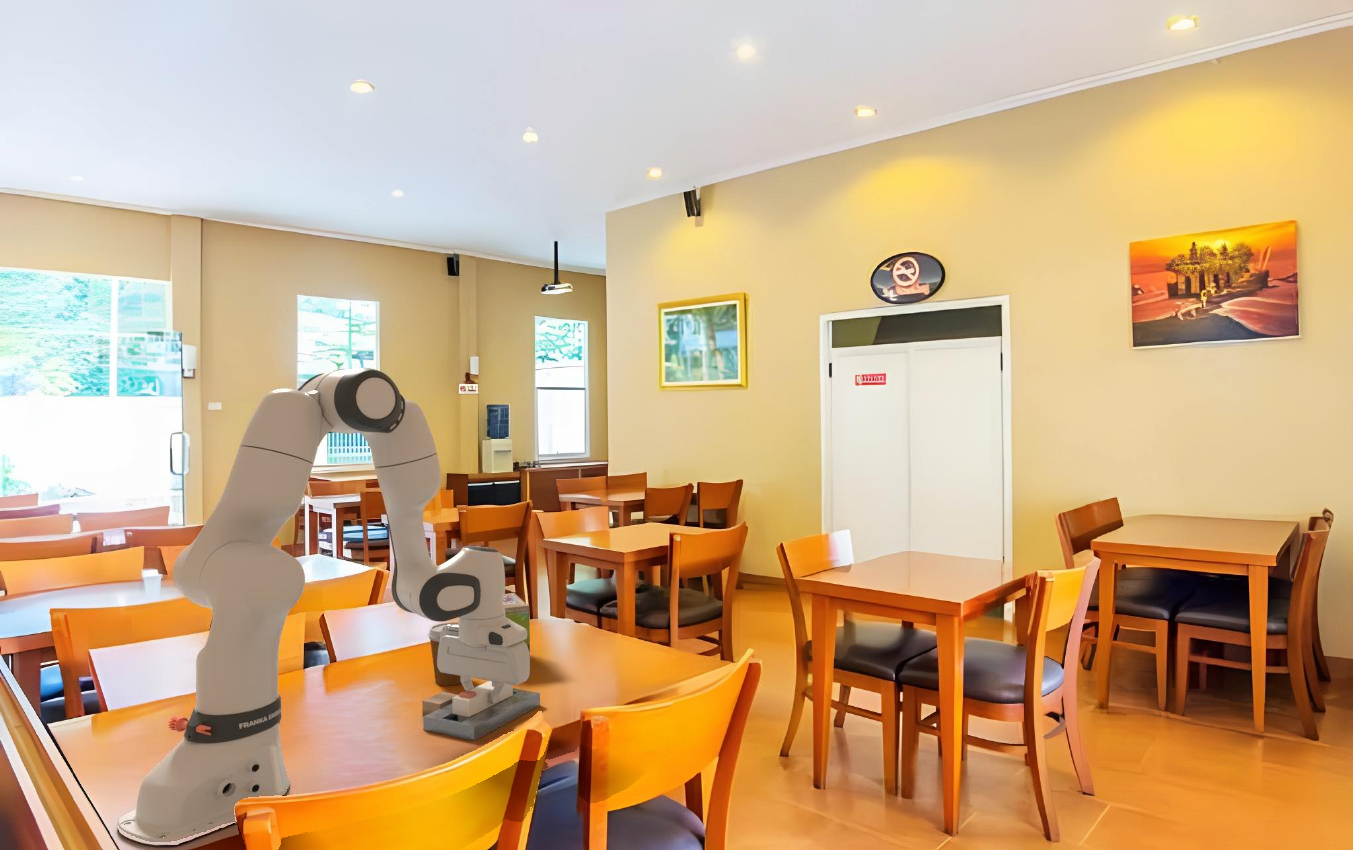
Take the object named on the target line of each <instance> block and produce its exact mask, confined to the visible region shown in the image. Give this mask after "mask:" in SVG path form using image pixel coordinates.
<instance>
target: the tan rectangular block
mask: <svg viewBox="0 0 1353 850" xmlns="http://www.w3.org/2000/svg"><path fill="white" fill-rule="evenodd" d="M457 695H458V694H454V693H451V692H450V693H449V692H445V691H441V692H439V693H436V694H435V695H433V696H430V697H428V698H425V699H424V700H421V701H422V709H421V710H422V711H421V713H422V717H423V716H425V715H428V714H430V713H432V712H434V711H436V710H438V709H441V708H443V707H445V706H447V705H449V704H451V703H452V698H453V697H455V696H457Z"/></svg>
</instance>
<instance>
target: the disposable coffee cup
mask: <svg viewBox="0 0 1353 850" xmlns="http://www.w3.org/2000/svg"><path fill="white" fill-rule="evenodd" d="M446 625H453V626H459V621H453V622H452V621H450V622H448V621H447V622H441V623H437V624H435V625H432V626H430V627H429V631H428V633H427V636H428V638H429V641H430V648H431V655H432V656H431V657H432V664H433V672H434V680H435V684H437V685H439V686H455V685H460V684H462V683H461V681H460V675H454V674H448V673H442V672H440V671H439V669H438V667H437V656H438V648H439V642H440V631H441V630H442V628H443V627H445V626H446Z"/></svg>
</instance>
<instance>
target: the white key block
mask: <svg viewBox="0 0 1353 850" xmlns="http://www.w3.org/2000/svg"><path fill="white" fill-rule="evenodd" d="M513 688H514V685H511V684H505V683H504V686H503V688H502V690H501V692H500V693H499V702H498V703H496V704H492V703H488V694H489V693H491V692H492V691H493V689H494V687H493V686H492V681H488V680H487V681H485V682H484V683H482V684H479V685H477V686H476V687H475V686H474V688H473V689H471V690H466V691H465V690H464V691H462V692H459V694H456V695H457V696H455V697H453V698H452V714H457V715H458V722H462V721H464V720H466V719H469V718H471V717H473V716H475V714H476V713H478V712H480V711H482V710H484V709H486V708H488V707H490V706H495V705H497V704H499V703H501V702H503V701H505V699H506V698H508V697H510V696H512V695H513Z"/></svg>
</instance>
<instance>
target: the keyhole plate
mask: <svg viewBox="0 0 1353 850" xmlns="http://www.w3.org/2000/svg"><path fill="white" fill-rule="evenodd" d="M538 705H540V706H541V693H540V692H538V691H537V692H536V691H532V690H531V691H530V690H525V689H519V688H514V687H513V695H512V696H510V697H508V698H506V699H505V701H503V702H501V703H499V704H497V705H495V706H490V707H488V708H486V709H484V710H482V711H480V712H478V713H476V714H475V716H473V717H471V718H469V719H466V720H464V721H462V722H458V715H457V714H452V703H451V704H449V705H447V706H445V707H443V708H441V709H438V710H436V711H434V712H432V713H430V714H428V715H425V716H423V715H422V717H423V718H422V719H423V723H422V724H423V725H422V726H423V731H426V732H427V731H428V732H432V733H437V734H441V735H446V736H451V737H454V738H455V737H456V738H458V739H459V738H460V739H463V740H467V741H473V742H475V741H477V740H479V739H480V737H481V738H482V737H484V736H485V734H486V735H488V734H489V732H490V733H491V731H492V732H494V731H495V730H497V729H499V728H500V727H503V726H505V725H506V724H508V723H510V722H513V721H514V720H515V719H517V717H518V718H519V717H521V716H523V715H526V713H528V712H531V711H533V710H534V709H536V708H538V707H539V706H538ZM537 706H538V707H537ZM535 707H536V708H535ZM513 719H514V720H513ZM509 721H510V722H509ZM502 725H503V726H502ZM498 727H499V728H498ZM487 733H488V734H487ZM478 738H479V739H478ZM476 739H477V740H476Z"/></svg>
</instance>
